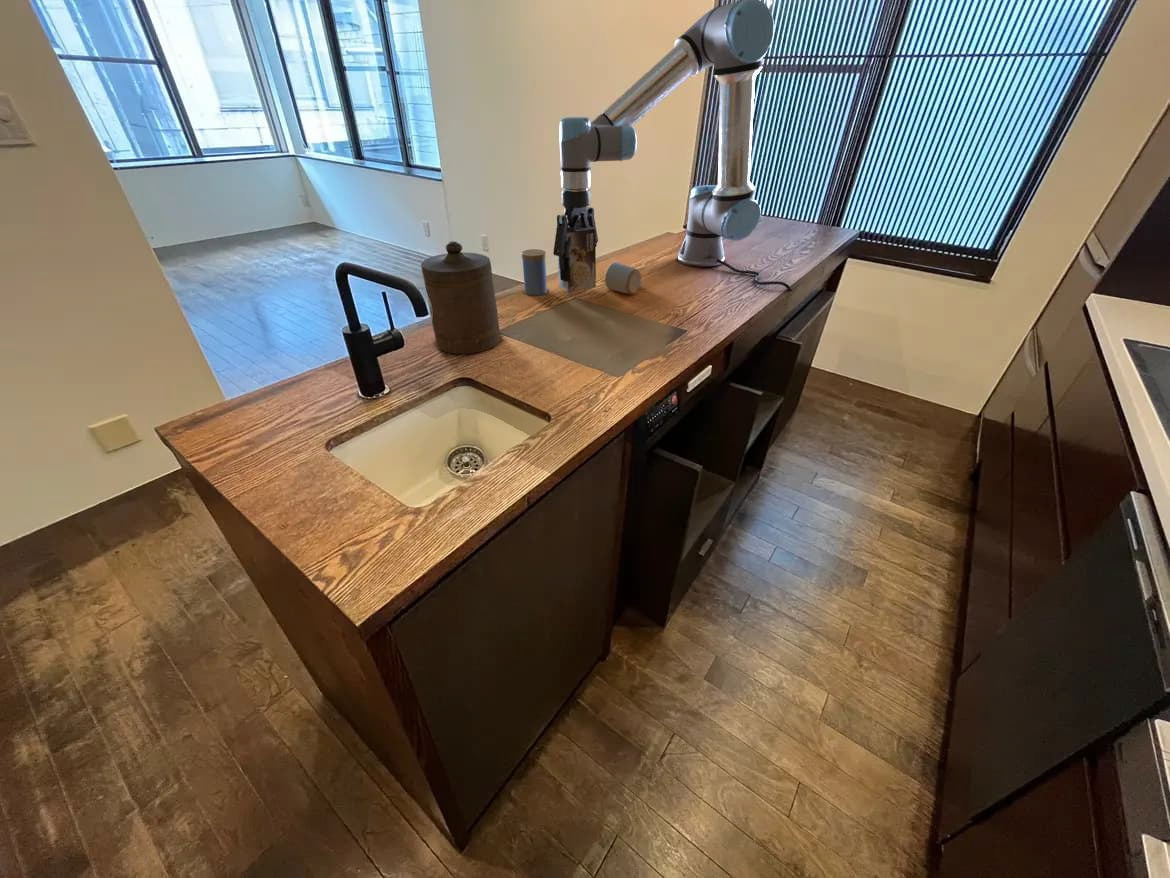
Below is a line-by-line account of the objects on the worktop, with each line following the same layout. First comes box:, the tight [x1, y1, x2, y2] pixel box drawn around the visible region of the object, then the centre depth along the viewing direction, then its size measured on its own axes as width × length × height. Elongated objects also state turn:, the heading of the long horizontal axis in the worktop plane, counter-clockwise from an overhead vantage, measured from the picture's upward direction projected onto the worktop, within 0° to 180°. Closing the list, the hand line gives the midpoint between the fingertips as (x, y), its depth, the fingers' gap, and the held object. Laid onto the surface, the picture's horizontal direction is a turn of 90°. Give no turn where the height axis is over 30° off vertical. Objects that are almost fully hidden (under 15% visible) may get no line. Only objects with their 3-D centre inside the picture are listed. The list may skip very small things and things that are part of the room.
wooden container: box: [420, 241, 501, 355], centre depth 106 cm, size 15×15×22 cm
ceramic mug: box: [604, 261, 643, 295], centre depth 138 cm, size 11×8×8 cm
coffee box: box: [555, 226, 597, 293], centre depth 135 cm, size 9×6×16 cm
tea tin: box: [520, 248, 548, 296], centre depth 137 cm, size 7×7×11 cm
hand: (577, 275), depth 137 cm, fingers closed on coffee box, 10 cm apart
